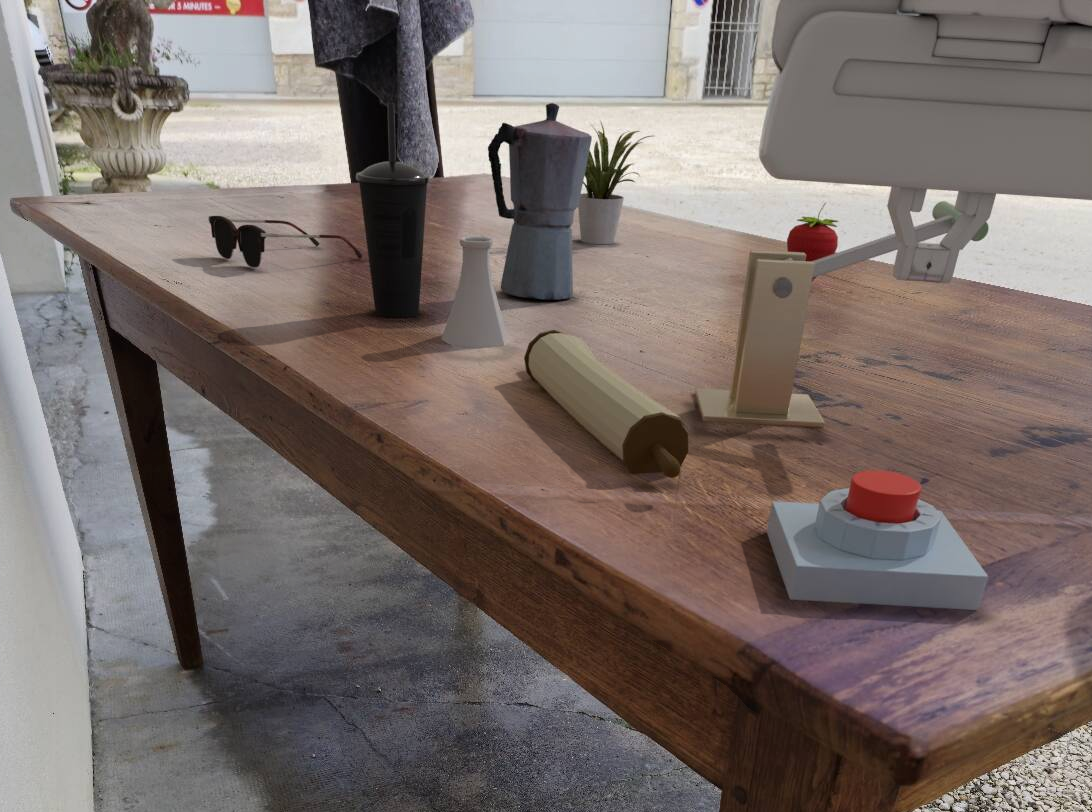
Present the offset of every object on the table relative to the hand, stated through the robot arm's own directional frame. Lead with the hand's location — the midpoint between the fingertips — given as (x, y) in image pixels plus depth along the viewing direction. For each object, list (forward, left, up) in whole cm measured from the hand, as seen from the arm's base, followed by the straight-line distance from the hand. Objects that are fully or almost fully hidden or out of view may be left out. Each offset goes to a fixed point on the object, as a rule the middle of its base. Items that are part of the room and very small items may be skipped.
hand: (920, 280), depth 59 cm
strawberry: (-11, -85, -16) cm, 87 cm away
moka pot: (+24, -71, -16) cm, 77 cm away
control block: (0, +4, -16) cm, 17 cm away
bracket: (+3, -26, -16) cm, 31 cm away
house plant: (+15, -113, -16) cm, 115 cm away
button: (0, +4, -13) cm, 13 cm away
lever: (-3, -26, -4) cm, 27 cm away
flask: (+29, -45, -16) cm, 56 cm away
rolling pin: (+17, -21, -16) cm, 31 cm away
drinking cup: (+39, -58, -16) cm, 72 cm away
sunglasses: (+58, -87, -16) cm, 106 cm away
